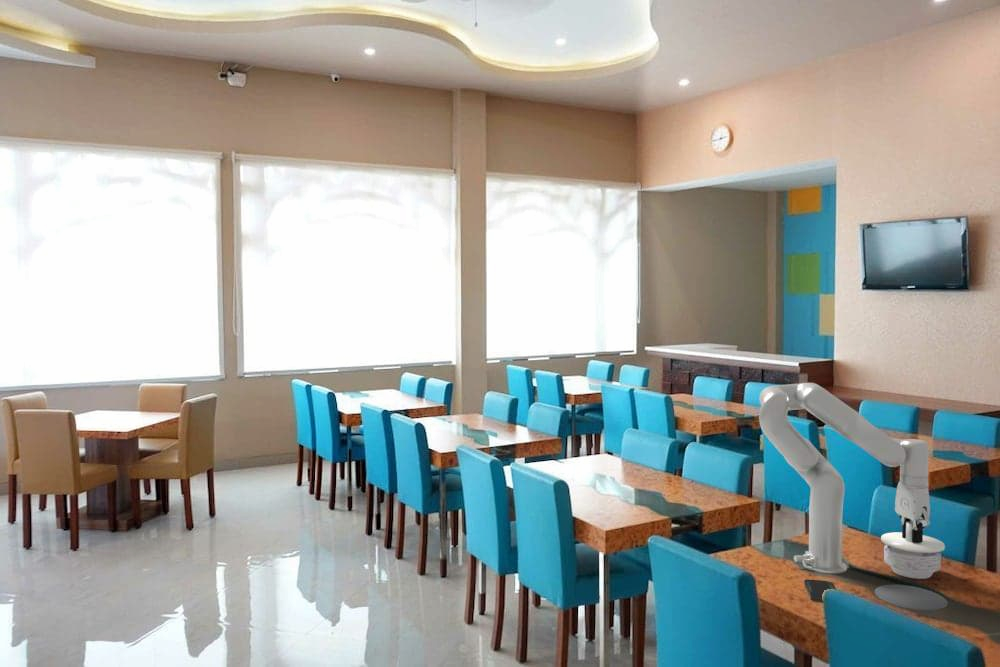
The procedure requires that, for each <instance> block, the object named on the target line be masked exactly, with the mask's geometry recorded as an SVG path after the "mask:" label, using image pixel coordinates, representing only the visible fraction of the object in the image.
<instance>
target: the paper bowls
mask: <svg viewBox="0 0 1000 667" xmlns="http://www.w3.org/2000/svg"><path fill="white" fill-rule="evenodd" d="M883 554H884V555H883V556H884V558H883V559H884V560H883V561H884V563H885V564H886V565H888V566H890V568H891V570H892V571H893V572H894V573H895V574H897V575H899V576H901V577H906V578H910V579H919V580H921V579H922V580H923V579H924V580H925V579H929V578H931V577H932V576H933V574H934V573H936V572H938V571H940V569H941V567H942V566H941V565H942V560H941V558H942V553H941V552H936V553H918V552H910V551H905V550H900V549H896V548H893V547H890V546H888V545H886V544H884V546H883Z"/></svg>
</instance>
